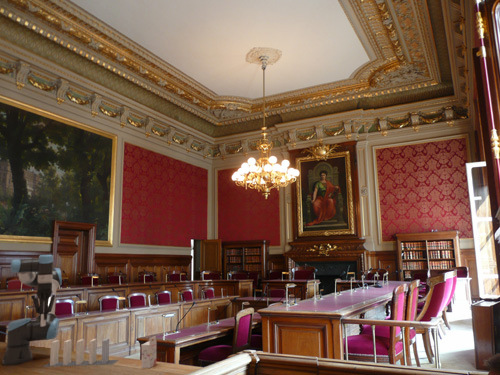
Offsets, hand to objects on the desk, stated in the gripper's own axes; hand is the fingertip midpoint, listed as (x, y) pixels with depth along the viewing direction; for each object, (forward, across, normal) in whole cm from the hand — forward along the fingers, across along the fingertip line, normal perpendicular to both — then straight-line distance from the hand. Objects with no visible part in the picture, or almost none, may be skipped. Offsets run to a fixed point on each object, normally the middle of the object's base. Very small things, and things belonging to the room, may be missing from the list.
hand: (43, 326), depth 232 cm
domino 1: (+20, +7, 0) cm, 22 cm away
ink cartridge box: (+21, +61, -9) cm, 65 cm away
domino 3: (+20, +21, 0) cm, 29 cm away
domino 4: (+20, +28, 0) cm, 35 cm away
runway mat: (+21, +22, 0) cm, 30 cm away
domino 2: (+20, +14, 0) cm, 25 cm away
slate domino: (+20, +35, 0) cm, 40 cm away
